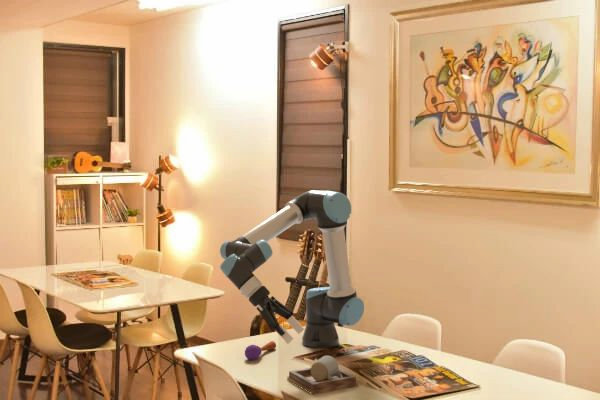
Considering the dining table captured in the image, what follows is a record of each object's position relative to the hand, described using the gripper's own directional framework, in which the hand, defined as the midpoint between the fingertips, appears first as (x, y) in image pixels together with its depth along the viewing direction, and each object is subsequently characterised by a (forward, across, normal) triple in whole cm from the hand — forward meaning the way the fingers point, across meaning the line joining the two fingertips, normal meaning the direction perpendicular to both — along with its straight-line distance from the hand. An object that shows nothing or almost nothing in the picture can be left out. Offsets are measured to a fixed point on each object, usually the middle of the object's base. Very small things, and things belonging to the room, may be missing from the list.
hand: (296, 336), depth 290 cm
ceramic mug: (+18, 0, -3) cm, 19 cm away
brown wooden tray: (+18, 0, -5) cm, 18 cm away
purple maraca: (-4, -28, -28) cm, 40 cm away
